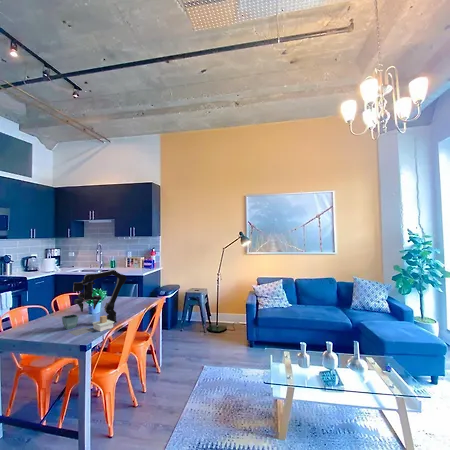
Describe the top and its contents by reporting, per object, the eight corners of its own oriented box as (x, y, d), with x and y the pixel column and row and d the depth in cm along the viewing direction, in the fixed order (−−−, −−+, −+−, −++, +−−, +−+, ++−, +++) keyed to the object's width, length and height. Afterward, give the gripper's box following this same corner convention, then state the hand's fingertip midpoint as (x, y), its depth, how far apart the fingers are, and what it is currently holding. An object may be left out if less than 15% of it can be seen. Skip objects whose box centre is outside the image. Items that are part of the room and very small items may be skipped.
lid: (106, 320, 213) (106, 313, 213) (114, 322, 206) (114, 315, 207) (92, 323, 204) (92, 316, 204) (100, 326, 197) (100, 319, 198)
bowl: (105, 325, 212) (106, 320, 212) (113, 328, 206) (113, 322, 206) (93, 329, 204) (93, 323, 204) (100, 332, 198) (100, 326, 198)
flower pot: (73, 325, 213) (73, 314, 213) (78, 328, 208) (78, 316, 208) (61, 328, 206) (61, 316, 207) (66, 331, 201) (66, 318, 201)
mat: (85, 327, 208) (85, 327, 208) (94, 331, 200) (94, 330, 200) (67, 332, 197) (67, 332, 197) (76, 336, 190) (76, 335, 190)
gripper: (94, 287, 224) (94, 306, 224) (70, 291, 209) (70, 311, 209) (101, 288, 218) (101, 308, 217) (77, 292, 203) (77, 314, 202)
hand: (88, 310), depth 211 cm, fingers open, 9 cm apart
